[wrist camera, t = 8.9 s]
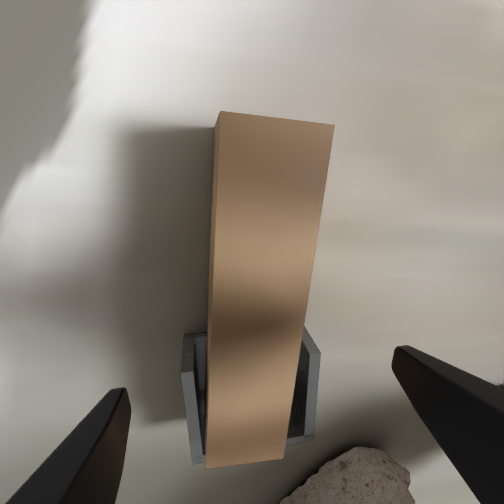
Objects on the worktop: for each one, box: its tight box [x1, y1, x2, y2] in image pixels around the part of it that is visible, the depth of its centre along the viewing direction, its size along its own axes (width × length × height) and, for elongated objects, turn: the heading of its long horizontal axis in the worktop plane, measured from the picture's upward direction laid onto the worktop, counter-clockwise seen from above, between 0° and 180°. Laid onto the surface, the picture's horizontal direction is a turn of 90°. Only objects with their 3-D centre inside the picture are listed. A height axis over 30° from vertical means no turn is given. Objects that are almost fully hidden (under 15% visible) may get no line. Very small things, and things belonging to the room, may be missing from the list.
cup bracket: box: [181, 326, 321, 465], centre depth 16 cm, size 7×7×3 cm
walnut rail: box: [205, 111, 335, 469], centre depth 13 cm, size 16×4×4 cm, turn 175°
